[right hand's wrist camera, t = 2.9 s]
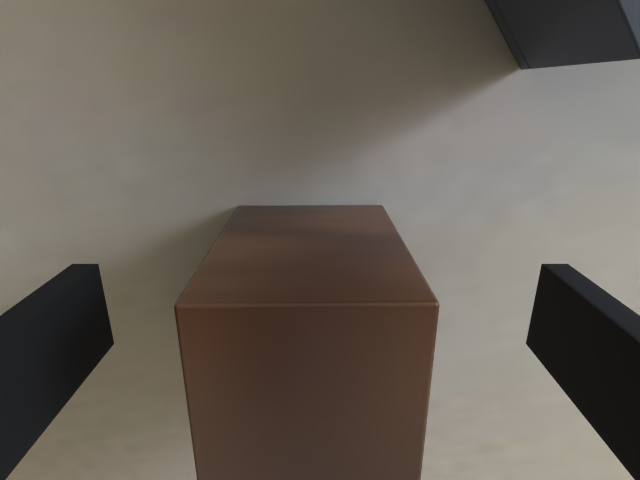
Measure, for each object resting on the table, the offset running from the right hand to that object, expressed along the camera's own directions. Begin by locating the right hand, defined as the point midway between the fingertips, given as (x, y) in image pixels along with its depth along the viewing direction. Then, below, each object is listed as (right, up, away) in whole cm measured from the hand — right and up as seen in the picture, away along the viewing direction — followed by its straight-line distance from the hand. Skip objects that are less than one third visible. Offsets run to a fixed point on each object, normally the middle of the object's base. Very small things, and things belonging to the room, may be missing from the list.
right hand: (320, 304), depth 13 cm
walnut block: (0, +1, +3) cm, 3 cm away
